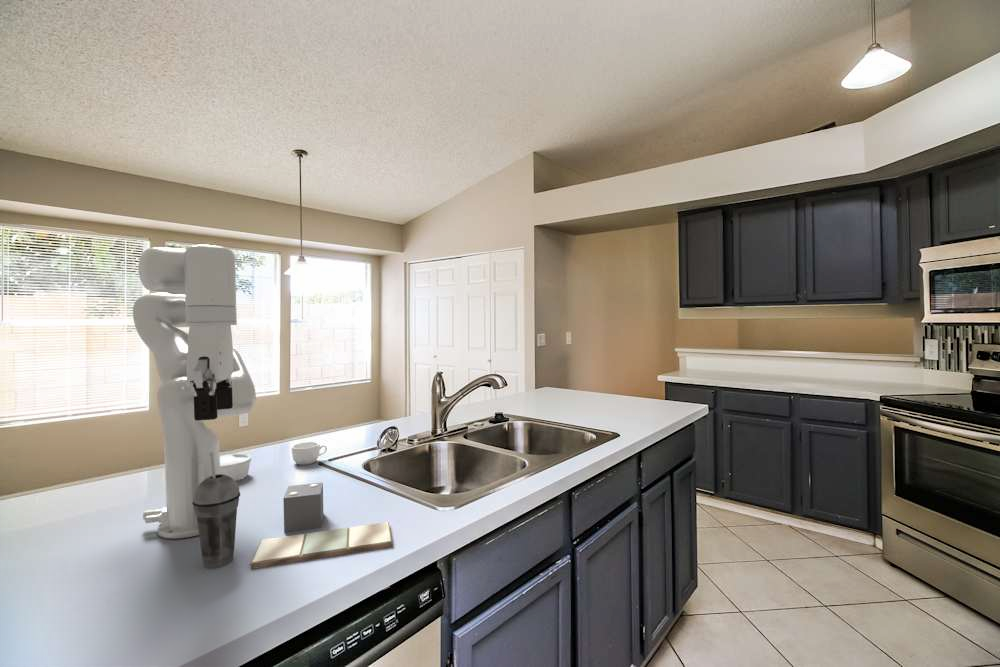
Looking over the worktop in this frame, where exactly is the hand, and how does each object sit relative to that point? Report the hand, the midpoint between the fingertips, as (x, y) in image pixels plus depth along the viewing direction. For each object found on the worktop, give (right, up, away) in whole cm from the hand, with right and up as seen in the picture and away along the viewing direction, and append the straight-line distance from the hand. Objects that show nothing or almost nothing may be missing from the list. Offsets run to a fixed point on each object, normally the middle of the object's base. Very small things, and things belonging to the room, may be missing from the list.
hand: (214, 414), depth 80 cm
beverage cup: (0, -27, +1) cm, 27 cm away
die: (+9, -26, +16) cm, 32 cm away
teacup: (-7, -25, +57) cm, 63 cm away
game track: (+17, -26, +7) cm, 32 cm away
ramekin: (-24, -26, +44) cm, 56 cm away
